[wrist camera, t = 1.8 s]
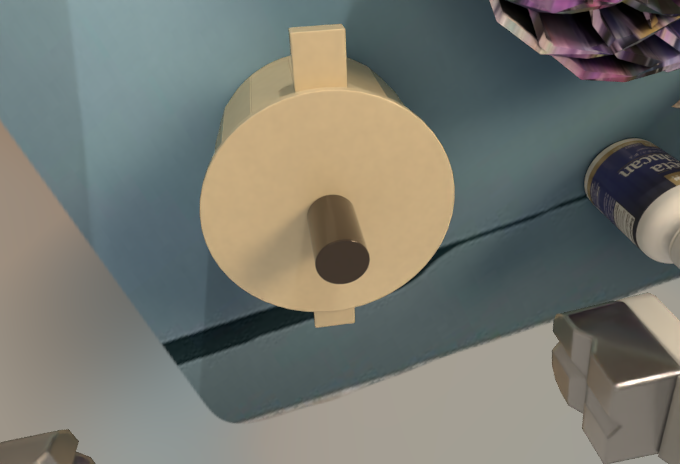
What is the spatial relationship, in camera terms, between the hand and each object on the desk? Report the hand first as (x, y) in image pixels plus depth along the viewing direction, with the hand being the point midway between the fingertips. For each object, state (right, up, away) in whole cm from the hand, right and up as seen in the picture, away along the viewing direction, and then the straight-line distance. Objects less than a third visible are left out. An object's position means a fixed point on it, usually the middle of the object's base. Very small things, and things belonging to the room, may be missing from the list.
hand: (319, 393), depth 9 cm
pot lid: (0, +4, +18) cm, 19 cm away
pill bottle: (+20, +7, +29) cm, 35 cm away
